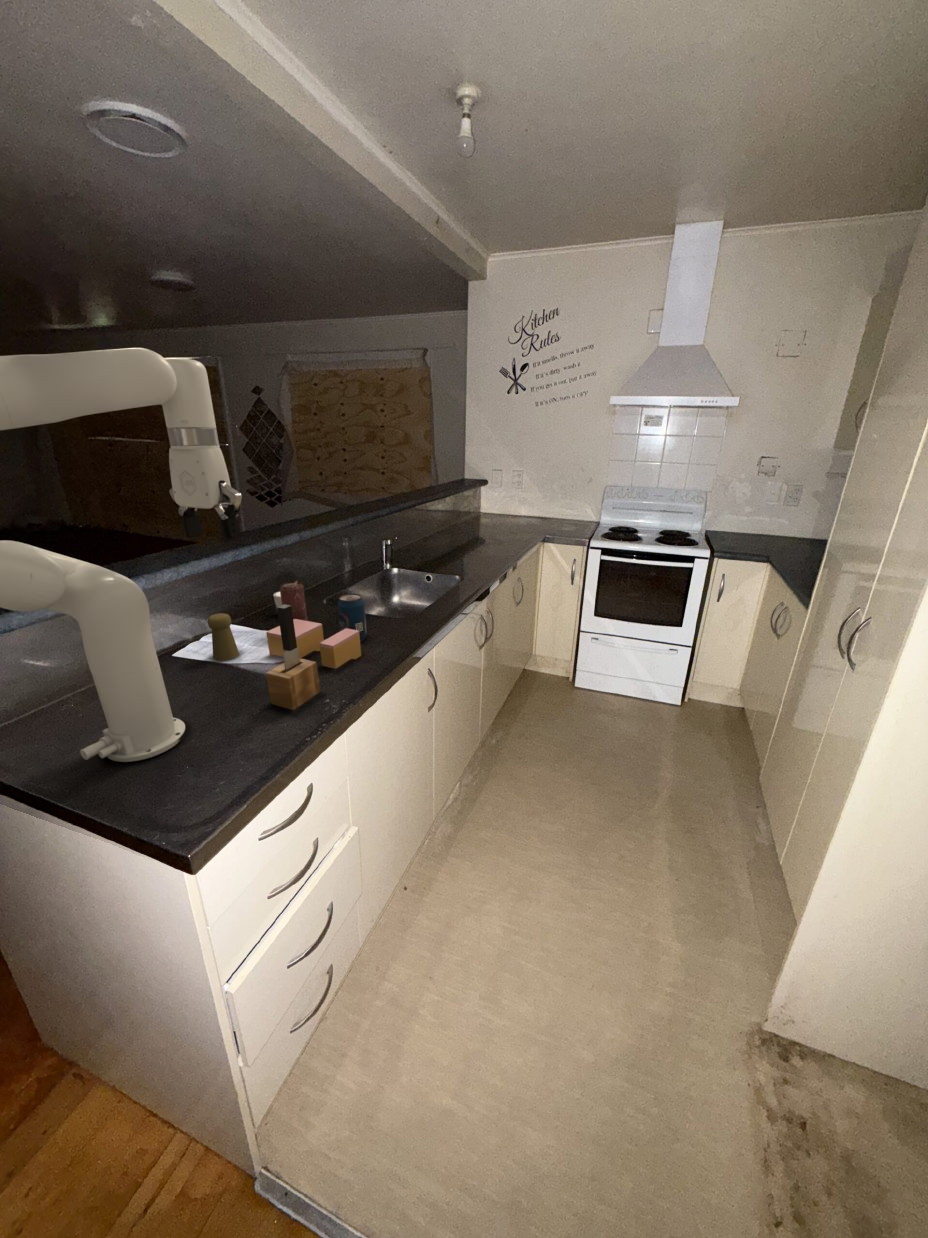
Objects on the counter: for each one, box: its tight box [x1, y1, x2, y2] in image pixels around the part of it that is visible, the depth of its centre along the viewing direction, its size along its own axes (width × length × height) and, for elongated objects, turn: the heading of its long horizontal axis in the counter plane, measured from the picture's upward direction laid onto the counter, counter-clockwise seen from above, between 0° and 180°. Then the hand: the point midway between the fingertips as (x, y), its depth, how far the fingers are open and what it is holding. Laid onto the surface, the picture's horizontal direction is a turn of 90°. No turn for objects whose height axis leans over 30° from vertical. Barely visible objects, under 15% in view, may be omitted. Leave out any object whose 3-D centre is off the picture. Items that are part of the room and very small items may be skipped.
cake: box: [265, 619, 325, 659], centre depth 122 cm, size 10×9×7 cm
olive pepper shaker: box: [207, 612, 240, 662], centre depth 120 cm, size 6×6×11 cm
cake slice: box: [319, 628, 362, 670], centre depth 117 cm, size 10×4×7 cm, turn 156°
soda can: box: [337, 593, 368, 643], centre depth 129 cm, size 7×7×12 cm
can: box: [279, 580, 309, 621], centre depth 134 cm, size 6×6×14 cm
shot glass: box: [272, 591, 282, 613], centre depth 148 cm, size 7×7×7 cm
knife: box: [276, 604, 300, 672], centre depth 97 cm, size 4×2×20 cm, turn 155°
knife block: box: [265, 658, 321, 711], centre depth 100 cm, size 8×6×8 cm
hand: (212, 538), depth 89 cm, fingers open, 9 cm apart
